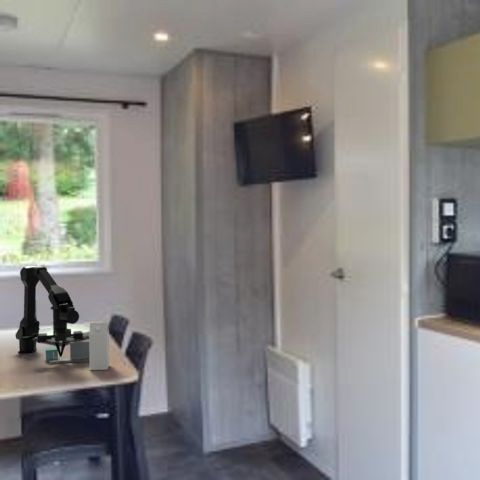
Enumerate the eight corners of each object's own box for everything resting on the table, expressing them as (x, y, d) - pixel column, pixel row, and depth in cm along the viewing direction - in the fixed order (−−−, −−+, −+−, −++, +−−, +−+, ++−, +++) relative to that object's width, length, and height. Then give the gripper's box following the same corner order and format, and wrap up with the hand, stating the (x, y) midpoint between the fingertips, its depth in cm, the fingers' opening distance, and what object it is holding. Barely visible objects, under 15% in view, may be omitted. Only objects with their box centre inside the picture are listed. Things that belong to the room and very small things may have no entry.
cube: (45, 361, 258) (45, 350, 258) (46, 358, 263) (45, 347, 263) (57, 360, 260) (57, 349, 259) (57, 358, 265) (57, 346, 264)
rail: (49, 364, 254) (49, 361, 254) (49, 361, 258) (49, 359, 258) (100, 360, 260) (100, 357, 260) (99, 357, 264) (99, 355, 264)
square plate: (101, 335, 310) (101, 328, 309) (59, 346, 287) (59, 338, 286) (65, 329, 324) (65, 322, 324) (23, 339, 301) (22, 332, 301)
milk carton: (92, 365, 252) (91, 321, 250) (109, 365, 252) (108, 320, 251) (89, 370, 245) (88, 324, 243) (107, 370, 245) (106, 324, 244)
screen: (70, 358, 258) (70, 342, 258) (70, 358, 259) (70, 342, 259) (99, 356, 262) (98, 340, 261) (98, 356, 263) (98, 340, 262)
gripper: (36, 325, 246) (37, 363, 247) (83, 322, 251) (84, 359, 253) (37, 320, 256) (37, 356, 257) (82, 317, 262) (82, 353, 263)
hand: (60, 356), depth 257 cm, fingers closed
